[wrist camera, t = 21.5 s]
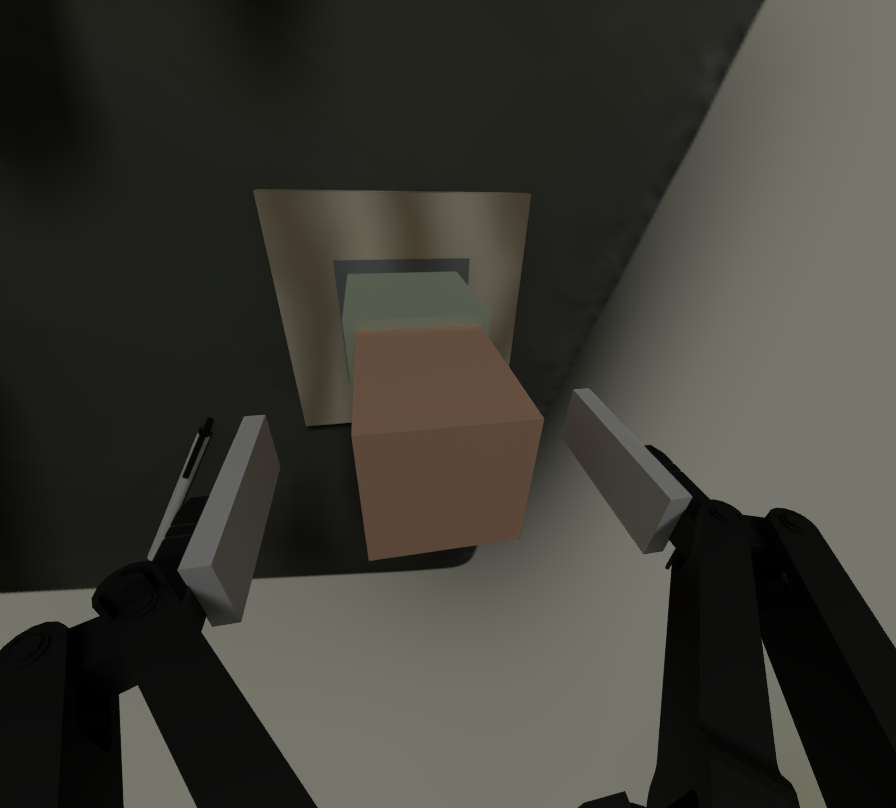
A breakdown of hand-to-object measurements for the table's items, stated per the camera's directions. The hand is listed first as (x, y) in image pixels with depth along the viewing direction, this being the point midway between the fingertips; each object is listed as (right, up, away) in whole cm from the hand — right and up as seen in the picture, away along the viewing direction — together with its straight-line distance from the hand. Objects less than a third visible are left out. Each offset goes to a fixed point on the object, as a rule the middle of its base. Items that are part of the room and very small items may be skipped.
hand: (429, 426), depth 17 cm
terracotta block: (-1, +2, +3) cm, 4 cm away
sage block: (-2, +6, +10) cm, 12 cm away
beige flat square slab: (-2, +7, +11) cm, 13 cm away
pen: (-22, -7, +16) cm, 29 cm away
